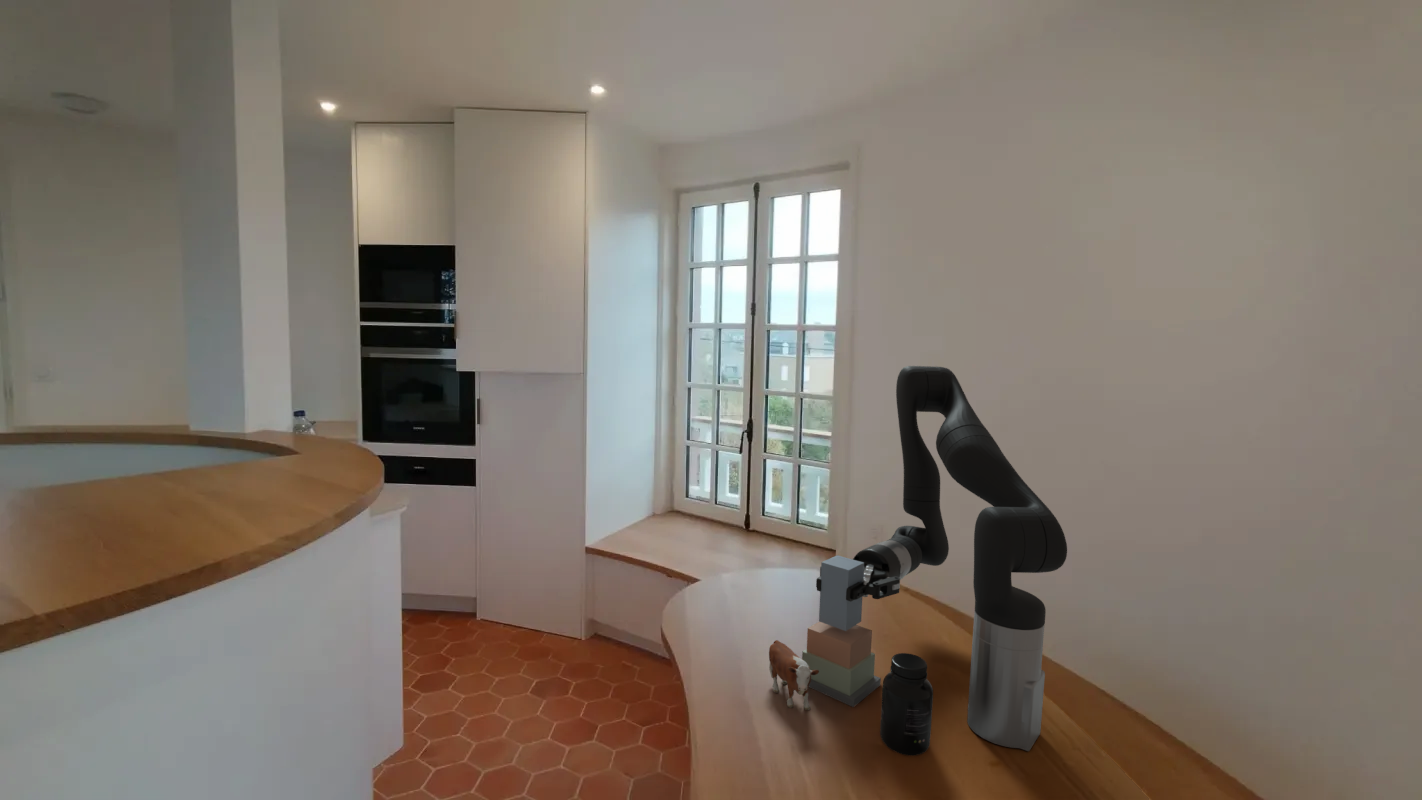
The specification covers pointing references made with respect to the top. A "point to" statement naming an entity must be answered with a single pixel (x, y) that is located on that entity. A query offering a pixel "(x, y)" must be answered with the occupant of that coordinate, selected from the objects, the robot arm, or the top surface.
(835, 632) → the brick tower
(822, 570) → the column brick
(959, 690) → the top surface
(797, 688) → the bull figurine
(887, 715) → the supplement bottle
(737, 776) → the top surface
